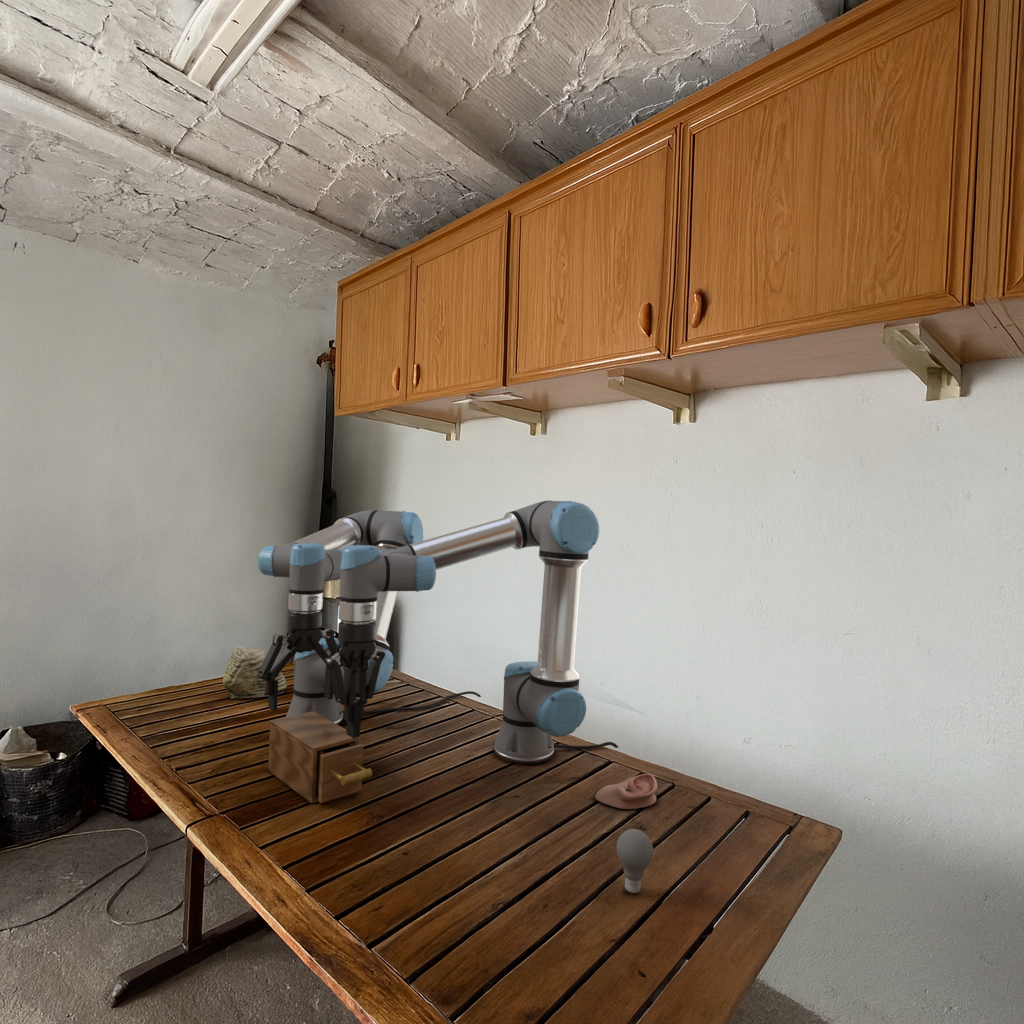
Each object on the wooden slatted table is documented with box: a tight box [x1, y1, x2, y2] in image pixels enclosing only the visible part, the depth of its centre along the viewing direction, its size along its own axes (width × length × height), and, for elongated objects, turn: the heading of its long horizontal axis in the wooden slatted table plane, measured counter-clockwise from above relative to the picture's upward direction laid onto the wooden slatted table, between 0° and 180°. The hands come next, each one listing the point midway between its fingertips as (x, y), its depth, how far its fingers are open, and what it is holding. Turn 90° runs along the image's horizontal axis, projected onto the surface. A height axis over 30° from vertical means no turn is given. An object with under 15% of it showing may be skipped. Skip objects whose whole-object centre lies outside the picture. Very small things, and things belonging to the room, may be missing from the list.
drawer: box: [316, 742, 373, 804], centre depth 137 cm, size 26×9×10 cm, turn 45°
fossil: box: [222, 646, 288, 699], centre depth 198 cm, size 9×18×15 cm, turn 132°
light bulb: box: [615, 828, 654, 894], centre depth 106 cm, size 6×6×10 cm
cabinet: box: [267, 711, 360, 804], centre depth 142 cm, size 21×11×12 cm, turn 45°
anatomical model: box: [594, 773, 658, 810], centre depth 139 cm, size 13×4×12 cm
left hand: (301, 703), depth 145 cm, fingers open, 13 cm apart
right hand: (353, 735), depth 130 cm, fingers closed
